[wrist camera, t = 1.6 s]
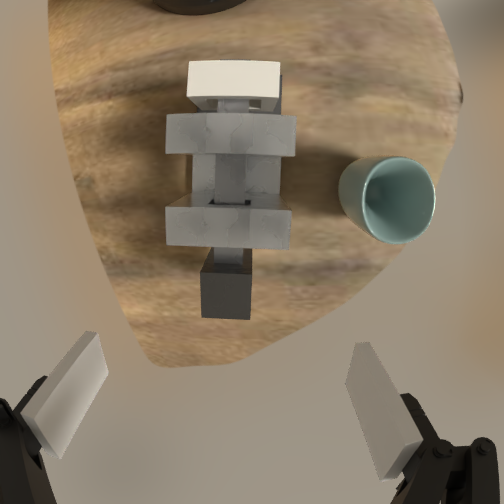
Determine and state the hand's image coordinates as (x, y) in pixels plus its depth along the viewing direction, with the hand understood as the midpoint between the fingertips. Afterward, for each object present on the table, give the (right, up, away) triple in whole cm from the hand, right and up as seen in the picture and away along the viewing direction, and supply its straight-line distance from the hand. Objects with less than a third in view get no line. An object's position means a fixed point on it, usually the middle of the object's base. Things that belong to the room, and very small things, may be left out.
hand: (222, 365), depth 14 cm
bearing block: (0, +14, +18) cm, 23 cm away
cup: (+14, +13, +19) cm, 27 cm away
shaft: (0, +12, +14) cm, 18 cm away
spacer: (0, +20, +9) cm, 21 cm away
